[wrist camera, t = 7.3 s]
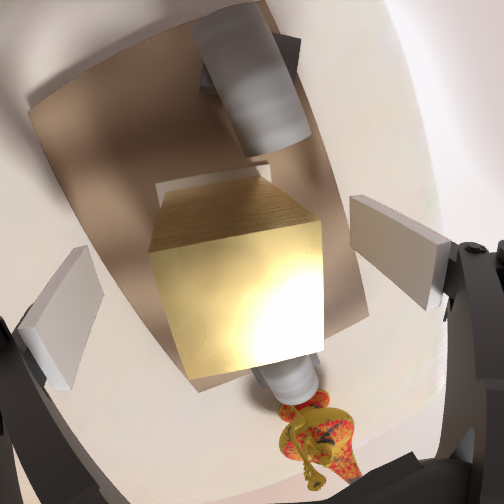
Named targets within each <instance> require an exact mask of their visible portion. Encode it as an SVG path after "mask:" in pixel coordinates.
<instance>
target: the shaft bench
mask: <svg viewBox="0 0 504 504" xmlns="http://www.w3.org/2000/svg"><path fill="white" fill-rule="evenodd" d="M300 45H301V39H299V38H295V37H291V36H286V35H282V34H280V31H279V29H278V27H277V25H276V23H275V21H274V19H273V16H272V14H271V12H270V10H269V8H268V6H267V4H266V2H265V0H260V1H256V2H252V3H244V4H238V5H233V6H230V7H226V8H223V9H221V10H218V11H216V12H213V13H211V14H209V15H207V16H205V17H202V18H199V19H196V20H193V21H191V22H188V23H185V24H183V25H180V26H178V27H175V28H173V29H170V30H168V31H165V32H163V33H161V34H158V35H156V36H154V37H151V38H149V39H147V40H145V41H143V42H141V43H138V44H136V45H134V46H132V47H130V48H128V49H126V50H124V51H122V52H120V53H118V54H116V55H115V56H113V57H111V58H109V59H107V60H105V61H104V62H102V63H100V64H98V65H96V66H95V67H93V68H91V69H90V70H88V71H86V72H85V73H83V74H81V75H80V76H78V77H76V78H75V79H73V80H72V81H70V82H69V83H67V84H66V85H64V86H62V87H61V88H60V89H58V90H57V91H55V92H54V93H52V94H51V95H49V96H48V97H47V98H45V99H44V100H42V101H41V102H40V103H38V104H37V105H36V106H34V107H33V108H32V109H30V110H29V111H28V115H29V117H30V120H31V122H32V125H33V127H34V130H35V132H36V135H37V137H38V139H39V142H40V144H41V146H42V148H43V151H44V153H45V155H46V157H47V159H48V162H49V164H50V166H51V168H52V170H53V172H54V174H55V176H56V178H57V180H58V182H59V184H60V186H61V188H62V190H63V192H64V194H65V196H66V198H67V200H68V202H69V204H70V206H71V208H72V209H73V211H74V213H75V215H76V217H77V219H78V220H79V222H80V224H81V226H82V228H83V229H84V231H85V233H86V235H87V236H88V238H89V240H90V241H91V243H92V245H93V247H94V248H95V250H96V252H97V253H98V255H99V256H100V258H101V260H102V261H103V263H104V265H105V266H106V268H107V269H108V271H109V273H110V274H111V276H112V277H113V279H114V280H115V282H116V283H117V285H118V286H119V288H120V289H121V291H122V292H123V294H124V295H125V297H126V298H127V300H128V301H129V303H130V304H131V306H132V307H133V309H134V310H135V311H136V313H137V314H138V316H139V317H140V318H141V320H142V321H143V323H144V324H145V325H146V327H147V328H148V330H149V331H150V332H151V334H152V335H153V336H154V338H155V339H156V340H157V342H158V343H159V344H160V346H161V347H162V348H163V350H164V351H165V352H166V353H167V355H168V356H169V357H170V359H171V360H172V361H173V362H174V364H175V365H176V366H177V367H178V369H179V370H180V371H181V372H182V373H183V375H184V376H185V377H186V378H187V380H188V377H187V374H186V372H185V369H184V366H183V363H182V361H181V358H180V355H179V352H178V350H177V347H176V344H175V341H174V338H173V335H172V332H171V329H170V326H169V323H168V320H167V317H166V314H165V311H164V308H163V305H162V302H161V298H160V295H159V292H158V288H157V285H156V282H155V278H154V275H153V271H152V268H151V264H150V261H149V257H148V254H147V253H148V250H149V246H150V242H151V239H152V235H153V232H154V228H155V225H156V222H157V218H158V215H159V212H160V209H161V205H162V202H163V199H164V196H165V193H166V192H169V191H174V190H179V189H184V188H189V187H195V186H200V185H205V184H211V183H216V182H222V181H228V180H234V179H240V178H246V177H253V176H259V175H261V176H262V177H264V178H265V179H266V180H268V181H269V182H271V183H272V184H273V185H275V186H276V187H277V188H279V189H280V190H282V191H283V192H284V193H286V194H287V195H288V196H290V197H291V198H292V199H294V200H295V201H296V202H298V203H299V204H300V205H302V206H303V207H304V208H306V209H307V210H308V211H310V212H311V213H312V214H314V215H315V216H316V217H317V218H319V219H320V220H321V226H322V254H323V340H324V339H326V338H328V337H330V336H332V335H334V334H336V333H338V332H340V331H342V330H344V329H346V328H348V327H349V326H351V325H353V324H355V323H357V322H359V321H361V320H363V319H365V318H366V317H368V316H369V312H368V307H367V302H366V298H365V293H364V288H363V284H362V279H361V275H360V270H359V266H358V262H357V258H356V254H355V250H354V249H353V248H352V247H351V246H350V230H349V226H348V223H347V219H346V215H345V212H344V208H343V205H342V201H341V198H340V194H339V191H338V187H337V184H336V181H335V178H334V174H333V171H332V168H331V165H330V162H329V159H328V155H327V152H326V149H325V146H324V143H323V140H322V138H321V135H320V132H319V129H318V126H317V123H316V120H315V118H314V115H313V112H312V109H311V107H310V104H309V101H308V99H307V96H306V94H305V91H304V88H303V86H302V83H301V81H300V78H299V76H298V73H297V66H298V59H299V52H300ZM319 363H320V361H319V359H318V356H317V353H316V352H312V353H309V354H305V355H301V356H298V357H294V358H290V359H286V360H282V361H278V362H274V363H270V364H265V365H261V366H257V367H252V368H248V369H243V370H238V371H234V372H229V373H224V374H218V375H213V376H208V377H202V378H197V379H191V380H188V381H189V382H190V383H191V384H192V386H193V387H194V388H195V389H196V390H197V391H198V393H199V392H202V391H205V390H208V389H210V388H213V387H216V386H218V385H221V384H223V383H226V382H229V381H231V380H234V379H236V378H239V377H241V376H244V375H246V374H249V373H251V372H253V373H254V375H255V377H256V378H257V380H258V381H259V383H260V384H261V386H262V388H266V387H268V386H269V387H270V389H271V391H272V392H273V394H274V395H275V397H276V398H277V400H278V401H279V402H281V403H283V404H286V405H298V404H301V403H304V402H306V401H307V400H309V399H310V398H311V397H312V396H313V395H314V394H315V393H316V391H317V389H318V386H319V378H318V376H317V373H316V371H315V368H314V366H315V365H317V364H319Z"/></svg>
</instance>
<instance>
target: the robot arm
mask: <svg viewBox="0 0 504 504" xmlns="http://www.w3.org/2000/svg"><path fill="white" fill-rule="evenodd" d="M350 246H351V247H352V248H353V249H354V250H355V251H357V252H358V253H359V254H360V255H361V256H363V257H364V258H365V259H366V260H368V261H369V262H370V263H371V264H372V265H373V266H375V267H376V268H377V269H378V270H379V271H381V272H382V273H383V274H384V275H385V276H386V277H388V278H389V279H390V280H391V281H392V282H393V283H395V284H396V285H397V286H398V287H399V288H400V289H402V290H403V291H404V292H405V293H406V294H407V295H408V296H409V297H411V298H412V299H413V300H414V301H415V302H416V303H417V304H418V305H420V306H421V307H422V308H423V309H424V310H425V311H428V310H431V309H433V308H436V307H438V306H440V304H441V299H442V294H443V292H444V293H445V294H446V295H448V296H449V299H448V303H447V308H446V312H445V316H444V319H443V321H444V322H446V319H447V321H448V356H447V357H448V358H447V380H446V394H445V405H444V415H443V423H442V431H441V437H440V444H439V448H438V451H437V454H436V456H435V458H430V459H424V460H417V458H416V456H415V455H414V453H413V452H410V453H408V454H406V455H404V456H402V457H400V458H398V459H396V460H394V461H392V462H389V463H387V464H385V465H383V466H380V467H379V468H376V469H374V470H371V471H370V472H368V473H367V474H365V475H364V476H363V477H361V478H360V479H358V480H357V481H355V482H354V483H352V484H351V485H349V486H348V487H346V488H345V489H343V490H342V491H340V492H339V493H337V494H335V495H334V496H332V497H330V498H328V499H326V500H322V501H312V502H299V503H279V504H504V240H502V241H500V242H499V243H498V249H497V252H495V253H494V252H493V253H489V251H488V250H487V249H486V248H485V247H484V246H482V245H480V244H477V243H474V242H464V243H461V244H459V245H458V244H456V243H454V242H452V241H451V240H449V239H448V238H446V237H444V236H442V235H440V234H439V233H437V232H435V231H433V230H431V229H430V228H428V227H426V226H424V225H422V224H420V223H418V222H416V221H415V220H413V219H411V218H409V217H407V216H405V215H403V214H401V213H399V212H397V211H395V210H393V209H391V208H389V207H387V206H385V205H383V204H381V203H379V202H377V201H375V200H373V199H370V198H368V197H366V196H364V195H356V196H350ZM103 296H104V293H103V290H102V288H101V285H100V282H99V279H98V276H97V274H96V271H95V268H94V265H93V262H92V259H91V256H90V253H89V249H88V246H87V245H86V246H82V247H78V248H74V249H73V250H72V251H71V253H70V254H69V255H68V257H67V258H66V259H65V260H64V262H63V263H62V264H61V266H60V267H59V268H58V270H57V271H56V272H55V274H54V275H53V277H52V278H51V279H50V281H49V282H48V284H47V285H46V286H45V288H44V289H43V291H42V292H41V294H40V295H39V296H38V298H37V299H36V301H35V302H34V303H33V304H32V305H31V306H30V307H29V308H28V309H27V311H26V312H25V314H24V316H23V317H22V318H21V320H20V322H19V323H18V325H17V326H16V328H15V329H14V331H13V333H12V334H11V333H10V331H9V329H8V327H7V325H6V323H5V322H4V320H3V318H2V317H1V316H0V504H23V500H22V496H21V492H20V487H19V482H18V477H17V472H16V467H15V461H14V454H13V447H12V444H13V446H14V449H15V451H16V453H17V456H18V458H19V460H20V463H21V465H22V467H23V469H24V471H25V473H26V475H27V477H28V480H29V482H30V483H31V485H32V487H33V489H34V491H35V493H36V495H37V497H38V499H39V500H40V502H41V504H130V503H129V502H128V501H127V499H126V498H125V497H124V496H123V495H122V494H121V493H120V492H119V491H118V490H117V488H116V487H115V486H114V485H113V484H112V483H111V482H110V480H109V479H108V478H107V477H106V476H105V474H104V473H103V472H102V471H101V469H100V468H99V467H98V466H97V465H96V463H95V462H94V461H93V459H92V458H91V457H90V455H89V454H88V453H87V451H86V450H85V449H84V447H83V446H82V445H81V443H80V442H79V441H78V439H77V438H76V436H75V435H74V433H73V432H72V430H71V429H70V427H69V426H68V424H67V423H66V421H65V420H64V418H63V417H62V415H61V414H60V412H59V410H58V409H57V407H56V406H55V404H54V402H53V401H52V399H51V397H50V396H49V394H48V392H47V391H46V390H45V388H44V385H45V382H46V380H48V382H49V383H50V385H51V386H52V388H53V389H54V391H63V390H72V387H73V383H74V380H75V376H76V373H77V370H78V367H79V364H80V360H81V357H82V354H83V351H84V348H85V345H86V342H87V339H88V337H89V334H90V331H91V328H92V325H93V323H94V320H95V317H96V315H97V312H98V309H99V307H100V304H101V301H102V299H103Z"/></svg>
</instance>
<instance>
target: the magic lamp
mask: <svg viewBox="0 0 504 504" xmlns="http://www.w3.org/2000/svg"><path fill="white" fill-rule="evenodd" d="M329 402H330V396H329V394H328V393H327V392H325V391H323V390H319V389H317V391H316V393H315V394H314V395H313V396H312V397H311V398H310V399H309V400H307V401H306V402H304V403H301V404H298V405H286V404H282V406H281V407H280V409H279V416H280V418H281V419H282V420H283V421H285V422H288V423H289V424H288V425H287V426H286V427H285V429H284V430H283V432H282V434H281V436H280V440H279V448H280V450H281V452H282V454H283V455H285V456H286V457H287V458H289V459H292V460H298V461H304V463H303V465H305V467H304V470H305V472H304V476H305V480H306V481H307V480H308V481H309V482H308V489H309V490H311V491H318V490H321V487H322V486H323V485H324V484H325V483H326V478H325V477H324V476H323V475H321V474H320V473H318V472H317V471H316V470H315V469H314V467H313V466H312V464H311V463H310V462H313V463H316V464H319V465H323V466H324V467H325V468H327V467H328V468H329V469H331V470H332V471H334V472H335V473H336V474H337V475H339V476H340V477H341V478H342V479H344V480H345V481H346V482H347V483H348V484H350V485H351V484H352V483H354V482H355V481H357V480H358V479H360V478H361V477H363V476H362V474H361V472H360V470H359V467H358V465H357V463H356V460H355V457H354V454H353V450H352V437H353V433H354V421H353V419H352V417H351V416H350V415H349V414H348V413H347V412H345V411H343V410H341V409H337V408H327V406H328V405H329ZM309 472H310V473H311V476H310V474H309Z"/></svg>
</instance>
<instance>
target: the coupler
mask: <svg viewBox="0 0 504 504" xmlns="http://www.w3.org/2000/svg"><path fill="white" fill-rule="evenodd" d="M147 254H148V257H149V261H150V264H151V268H152V271H153V275H154V278H155V282H156V285H157V288H158V292H159V295H160V298H161V302H162V305H163V308H164V311H165V314H166V317H167V320H168V323H169V326H170V329H171V332H172V335H173V338H174V341H175V344H176V347H177V350H178V352H179V355H180V358H181V361H182V363H183V366H184V369H185V372H186V374H187V377H188V380H191V379H197V378H202V377H208V376H213V375H218V374H224V373H229V372H234V371H238V370H243V369H248V368H252V367H257V366H261V365H265V364H270V363H274V362H278V361H282V360H286V359H290V358H294V357H298V356H301V355H305V354H309V353H312V352H316V351H319V350H323V254H322V226H321V220H320V219H319V218H317V217H316V216H315V215H314V214H312V213H311V212H310V211H308V210H307V209H306V208H304V207H303V206H302V205H300V204H299V203H298V202H296V201H295V200H294V199H292V198H291V197H290V196H288V195H287V194H286V193H284V192H283V191H282V190H280V189H279V188H277V187H276V186H275V185H273V184H272V183H271V182H269V181H268V180H266V179H265V178H264V177H262V176H261V175H259V176H253V177H246V178H240V179H234V180H228V181H222V182H216V183H211V184H205V185H200V186H195V187H189V188H184V189H179V190H174V191H169V192H166V193H165V196H164V199H163V202H162V205H161V209H160V212H159V215H158V218H157V222H156V225H155V228H154V232H153V235H152V239H151V242H150V246H149V250H148V253H147Z"/></svg>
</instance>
